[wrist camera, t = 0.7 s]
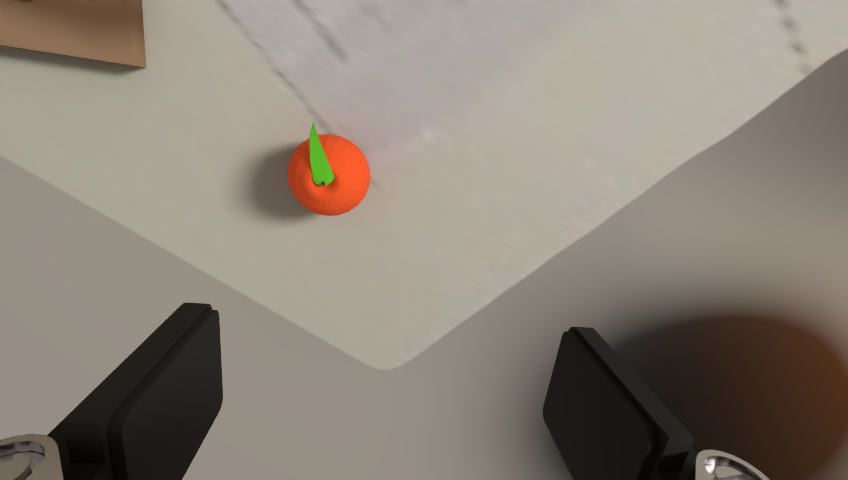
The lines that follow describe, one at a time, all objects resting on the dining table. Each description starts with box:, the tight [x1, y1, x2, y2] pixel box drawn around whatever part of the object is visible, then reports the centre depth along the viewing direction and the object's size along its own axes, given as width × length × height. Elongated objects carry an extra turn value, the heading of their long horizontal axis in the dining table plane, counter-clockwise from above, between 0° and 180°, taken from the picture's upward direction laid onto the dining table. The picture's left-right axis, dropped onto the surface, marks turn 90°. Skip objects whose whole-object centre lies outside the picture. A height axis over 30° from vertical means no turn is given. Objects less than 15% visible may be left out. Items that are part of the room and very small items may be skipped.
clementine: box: [288, 122, 370, 216], centre depth 34 cm, size 8×7×7 cm
